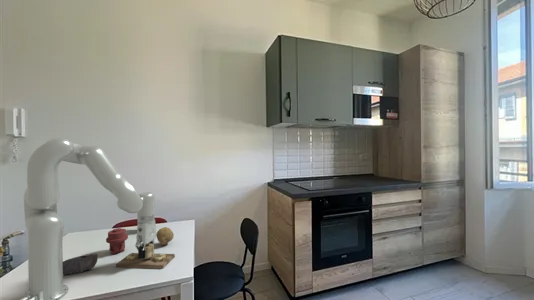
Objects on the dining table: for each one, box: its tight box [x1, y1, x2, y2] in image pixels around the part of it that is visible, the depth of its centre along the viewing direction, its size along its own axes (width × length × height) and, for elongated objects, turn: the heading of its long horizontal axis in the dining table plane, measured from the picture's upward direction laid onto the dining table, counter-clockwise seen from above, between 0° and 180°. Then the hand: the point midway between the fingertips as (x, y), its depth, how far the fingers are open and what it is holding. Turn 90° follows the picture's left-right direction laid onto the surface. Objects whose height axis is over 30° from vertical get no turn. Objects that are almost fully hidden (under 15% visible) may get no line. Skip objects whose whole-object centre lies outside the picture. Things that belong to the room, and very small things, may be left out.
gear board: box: [115, 252, 176, 270], centre depth 118 cm, size 12×23×7 cm, turn 86°
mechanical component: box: [105, 227, 129, 255], centre depth 130 cm, size 12×10×10 cm
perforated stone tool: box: [63, 253, 99, 275], centre depth 109 cm, size 15×5×7 cm, turn 114°
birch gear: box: [141, 243, 155, 259], centre depth 118 cm, size 7×7×5 cm
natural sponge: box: [156, 226, 174, 246], centre depth 139 cm, size 9×9×10 cm
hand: (146, 254), depth 118 cm, fingers closed on birch gear, 6 cm apart
